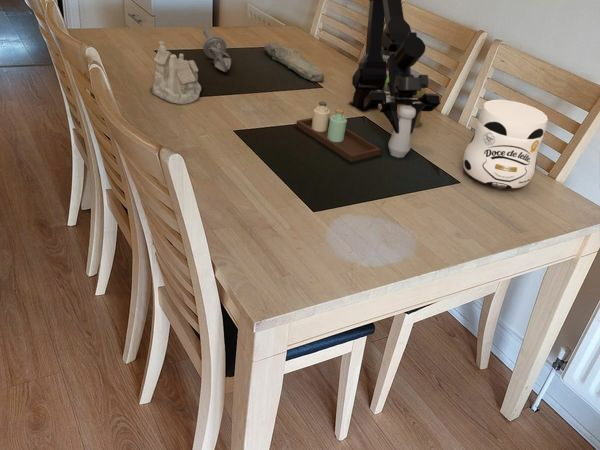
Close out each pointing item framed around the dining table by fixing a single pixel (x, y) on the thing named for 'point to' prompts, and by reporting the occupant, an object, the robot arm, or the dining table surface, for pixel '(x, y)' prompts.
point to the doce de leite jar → (505, 144)
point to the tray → (348, 148)
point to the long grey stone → (294, 61)
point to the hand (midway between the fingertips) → (404, 133)
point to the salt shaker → (402, 132)
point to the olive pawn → (417, 123)
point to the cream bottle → (320, 117)
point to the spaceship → (216, 50)
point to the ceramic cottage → (175, 77)
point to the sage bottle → (337, 126)
